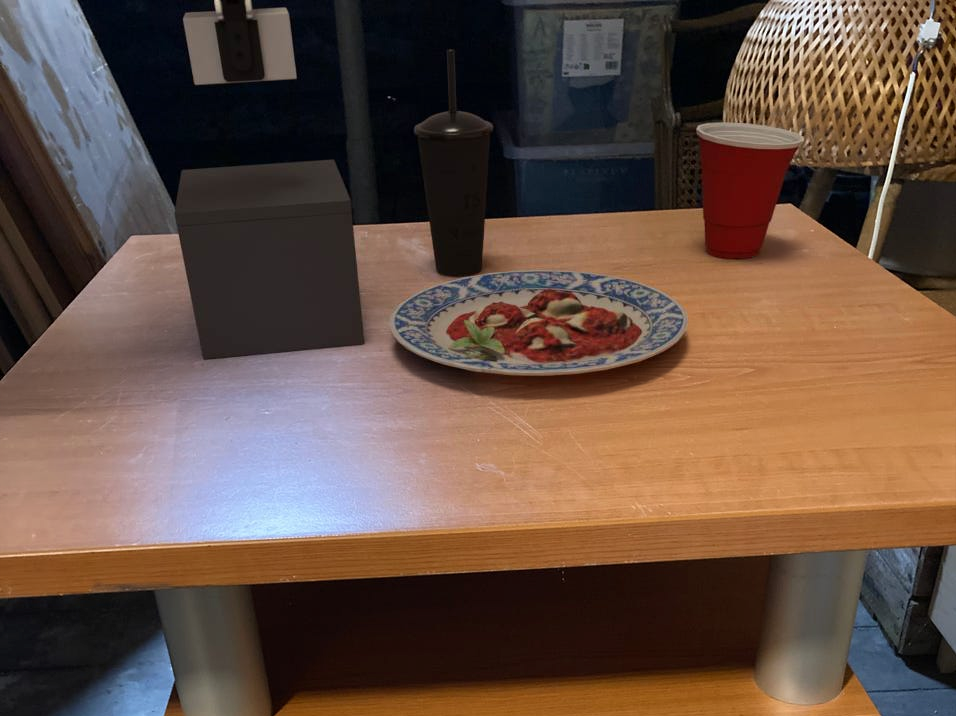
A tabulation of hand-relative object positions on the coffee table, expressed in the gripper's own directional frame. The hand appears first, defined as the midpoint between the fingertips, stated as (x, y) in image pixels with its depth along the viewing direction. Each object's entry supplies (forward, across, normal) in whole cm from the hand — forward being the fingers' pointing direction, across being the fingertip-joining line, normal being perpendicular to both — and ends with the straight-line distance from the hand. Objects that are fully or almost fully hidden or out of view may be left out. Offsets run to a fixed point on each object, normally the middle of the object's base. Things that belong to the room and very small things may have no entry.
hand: (244, 73), depth 80 cm
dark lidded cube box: (+21, -1, 0) cm, 21 cm away
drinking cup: (+21, -12, +19) cm, 30 cm away
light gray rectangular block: (0, 0, 0) cm, 0 cm away
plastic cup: (+21, -10, +49) cm, 54 cm away
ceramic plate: (+21, +10, +22) cm, 32 cm away
